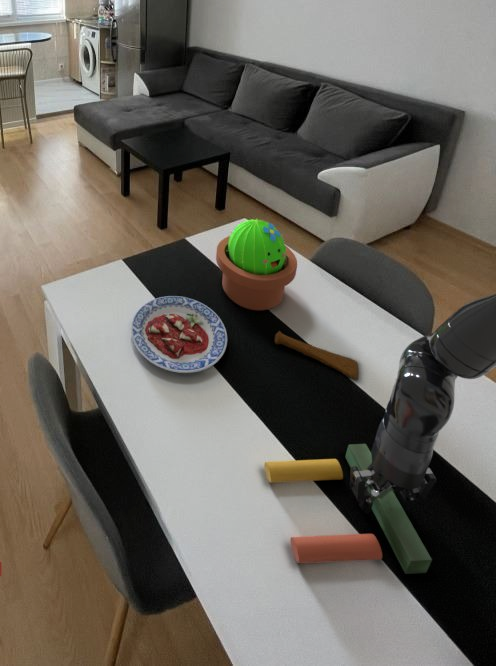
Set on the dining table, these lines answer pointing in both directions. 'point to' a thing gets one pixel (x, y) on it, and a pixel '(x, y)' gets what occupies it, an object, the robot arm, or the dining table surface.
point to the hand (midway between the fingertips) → (381, 506)
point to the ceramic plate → (179, 334)
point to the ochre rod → (303, 470)
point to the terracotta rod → (335, 548)
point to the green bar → (393, 520)
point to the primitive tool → (320, 355)
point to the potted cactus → (255, 265)
